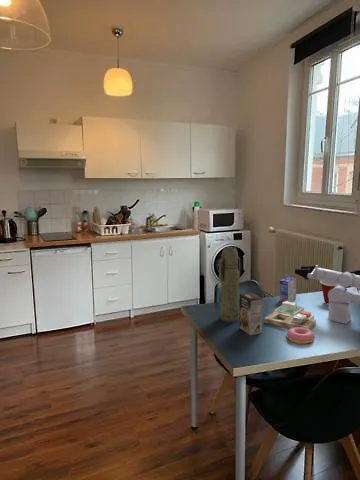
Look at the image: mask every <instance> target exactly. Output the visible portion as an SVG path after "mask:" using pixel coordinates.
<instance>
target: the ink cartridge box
mask: <svg viewBox="0 0 360 480" xmlns="http://www.w3.org/2000/svg"><path fill="white" fill-rule="evenodd" d="M283 277H284V278H283V279H280V280H279V301H280V302H281V303H283V302H284V301H289V302H294V301H295V300H297V277H292V276H289V275H288V274H287V273H286V274H283Z"/></svg>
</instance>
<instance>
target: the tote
mask: <svg viewBox="0 0 360 480" xmlns="http://www.w3.org/2000/svg"><path fill="white" fill-rule="evenodd" d="M302 311H305V307H304V306H300V305H297V312H295V313H294V314H291V313H286V312H282V305H280V306H279V307H277V308H276V309H274V311H273V312H279V313H284V314H289V315H293V316H295V315H297V314H300V313H301V312H302Z"/></svg>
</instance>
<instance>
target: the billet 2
mask: <svg viewBox="0 0 360 480" xmlns="http://www.w3.org/2000/svg"><path fill="white" fill-rule="evenodd" d="M306 319H307V315H303V314H297V315H295V316H294V317H293V323H295V324H299V325H304V324H305V323H306Z"/></svg>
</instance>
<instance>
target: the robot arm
mask: <svg viewBox="0 0 360 480" xmlns="http://www.w3.org/2000/svg"><path fill="white" fill-rule="evenodd" d="M294 274H296V275H298V276H300V277H301V278H304V280H305V281H308V280H309V279H313V280H315V281H316V280H318V281H321V280H322V281H326V282H331V283H337V284H340V285H337V286H335V287H334V288H333V289H332V290H330V291H329V292H328V298H329V304H328V315H327V316H326V318H324V319H325V320H327V321H328V320H329V321H331V322H335V323H341V324H346V325H347V324H348V323H349V322H350V321H351V320H352V317H351V316H352V304H355V305H360V292H357V291H354V290H351V288H356V289H360V275H358V274H355V273H351V272H349V271H344V272H342V271H338V270H332V269H326V268H323V267H319V265H318V264H315V265H301V266H300V268H295V269H294ZM349 287H351V288H349ZM351 303H352V304H351Z"/></svg>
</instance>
